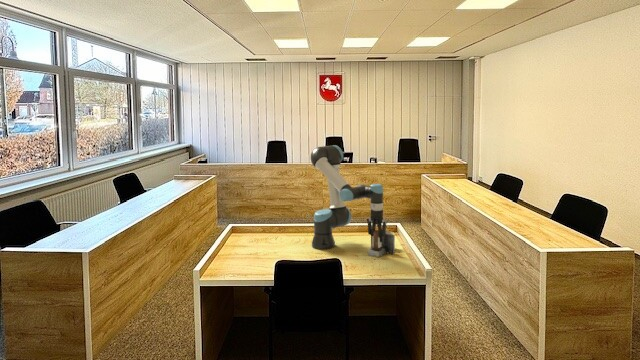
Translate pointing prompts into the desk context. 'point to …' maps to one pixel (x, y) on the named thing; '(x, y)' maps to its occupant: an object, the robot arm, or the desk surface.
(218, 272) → the desk surface
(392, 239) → the bracket
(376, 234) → the handle
